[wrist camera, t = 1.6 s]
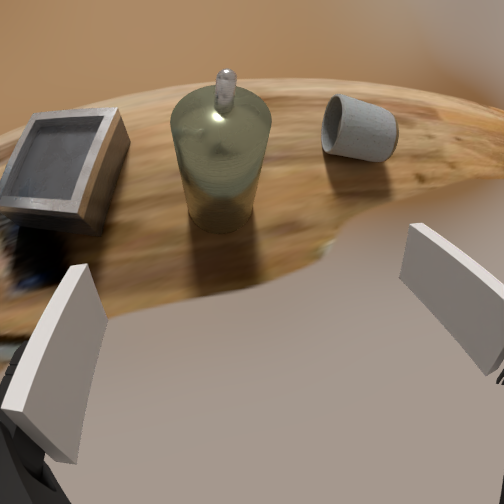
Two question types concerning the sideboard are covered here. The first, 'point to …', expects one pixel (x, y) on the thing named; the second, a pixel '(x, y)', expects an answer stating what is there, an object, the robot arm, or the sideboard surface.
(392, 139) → the ceramic mug
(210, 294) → the sideboard surface
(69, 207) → the grey rectangular tray
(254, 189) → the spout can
